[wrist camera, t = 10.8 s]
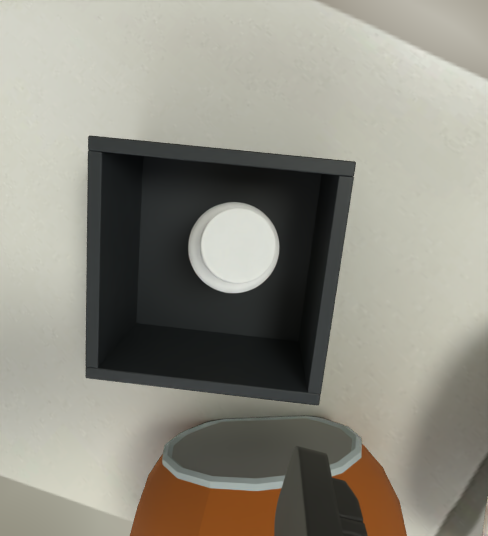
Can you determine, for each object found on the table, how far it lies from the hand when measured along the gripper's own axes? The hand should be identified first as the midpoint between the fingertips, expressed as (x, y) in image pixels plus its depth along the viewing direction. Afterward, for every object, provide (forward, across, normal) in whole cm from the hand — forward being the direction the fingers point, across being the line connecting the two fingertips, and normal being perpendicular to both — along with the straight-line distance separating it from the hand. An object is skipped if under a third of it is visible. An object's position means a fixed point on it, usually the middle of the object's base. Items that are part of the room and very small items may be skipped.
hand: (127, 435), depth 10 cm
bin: (+24, 0, 0) cm, 24 cm away
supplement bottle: (+22, 0, 0) cm, 22 cm away
